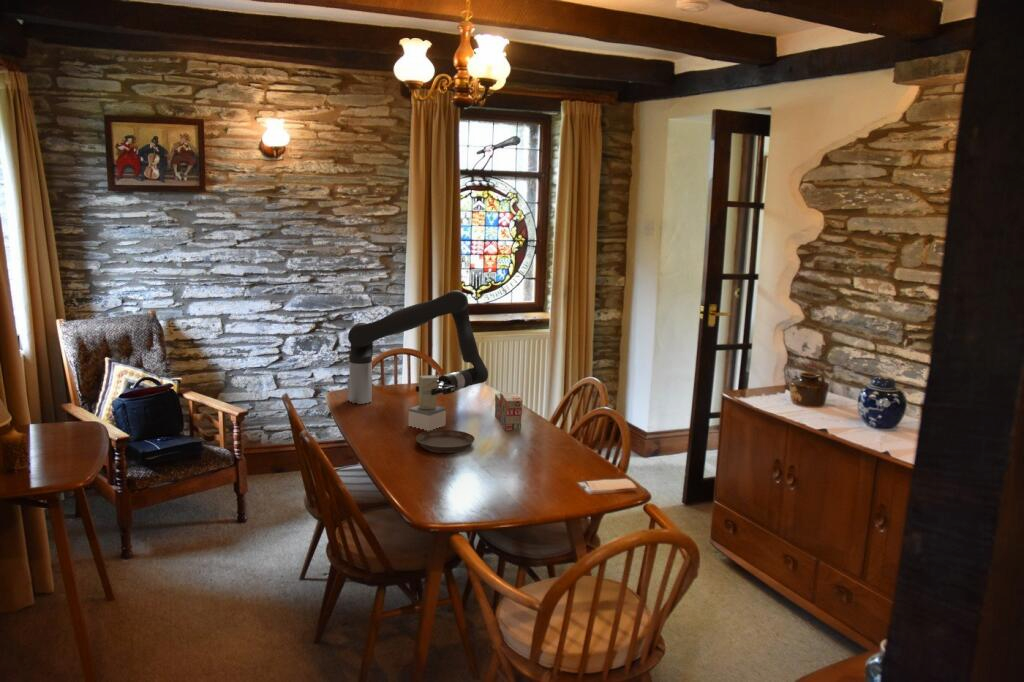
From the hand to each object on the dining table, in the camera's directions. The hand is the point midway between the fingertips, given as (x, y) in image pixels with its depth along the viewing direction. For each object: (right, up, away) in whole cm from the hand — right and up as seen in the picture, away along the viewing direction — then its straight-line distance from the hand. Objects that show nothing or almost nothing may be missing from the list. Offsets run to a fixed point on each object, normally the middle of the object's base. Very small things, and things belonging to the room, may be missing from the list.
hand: (424, 390), depth 293 cm
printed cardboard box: (+31, -14, +13) cm, 37 cm away
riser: (+1, -14, +4) cm, 14 cm away
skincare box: (+1, -7, +3) cm, 8 cm away
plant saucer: (+10, -19, -18) cm, 27 cm away
